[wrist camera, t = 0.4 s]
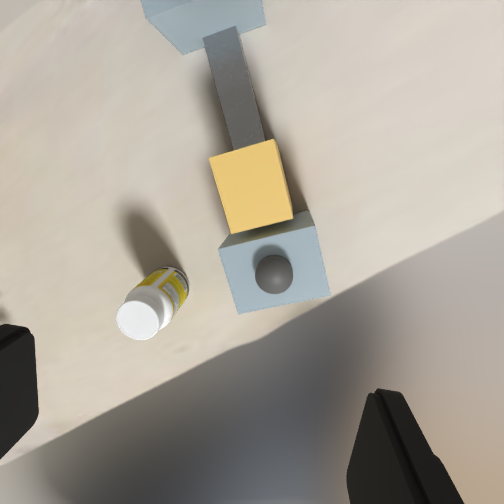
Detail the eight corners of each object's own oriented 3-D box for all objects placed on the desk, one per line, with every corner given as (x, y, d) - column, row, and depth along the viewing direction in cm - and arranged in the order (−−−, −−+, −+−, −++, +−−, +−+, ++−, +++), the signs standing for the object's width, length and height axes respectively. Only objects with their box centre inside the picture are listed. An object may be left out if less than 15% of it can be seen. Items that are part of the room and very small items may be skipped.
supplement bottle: (146, 296, 37) (106, 333, 29) (155, 259, 36) (116, 288, 28) (184, 309, 37) (156, 351, 29) (195, 274, 36) (168, 307, 28)
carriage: (277, 143, 31) (273, 138, 23) (292, 204, 32) (293, 218, 24) (228, 158, 32) (208, 158, 24) (244, 216, 33) (231, 233, 25)
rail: (239, 34, 29) (235, 25, 27) (284, 216, 33) (284, 219, 31) (208, 45, 29) (202, 37, 27) (256, 223, 33) (254, 227, 31)
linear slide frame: (247, -55, 27) (228, -155, 18) (321, 264, 34) (332, 300, 25) (161, -19, 28) (105, -97, 20) (249, 280, 35) (236, 319, 27)
